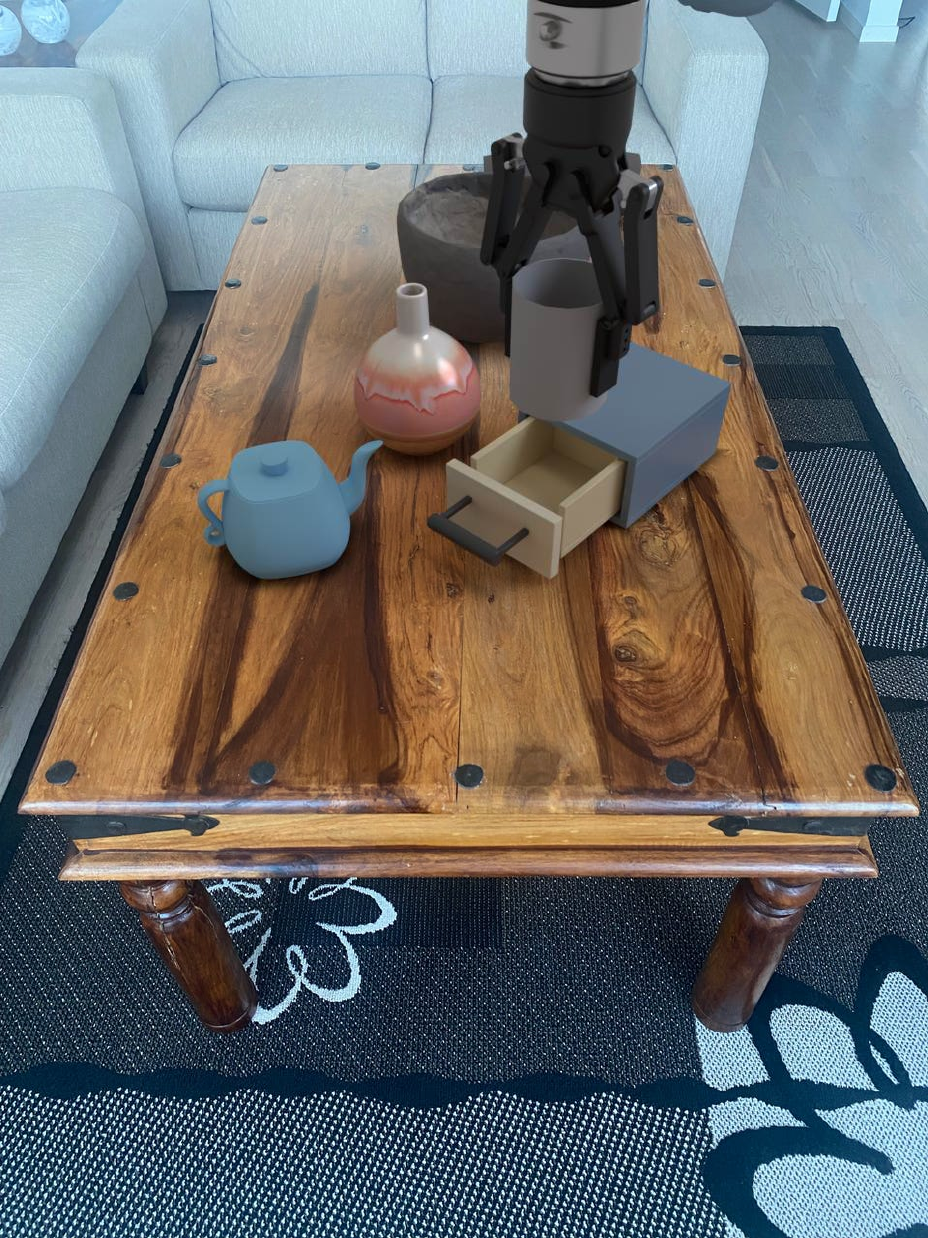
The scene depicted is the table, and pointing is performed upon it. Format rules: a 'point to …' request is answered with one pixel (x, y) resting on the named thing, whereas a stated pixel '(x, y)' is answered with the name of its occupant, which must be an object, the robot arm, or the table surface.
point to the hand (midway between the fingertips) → (559, 369)
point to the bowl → (467, 252)
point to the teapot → (285, 508)
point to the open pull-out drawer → (530, 496)
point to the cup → (554, 339)
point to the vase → (416, 382)
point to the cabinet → (654, 425)
